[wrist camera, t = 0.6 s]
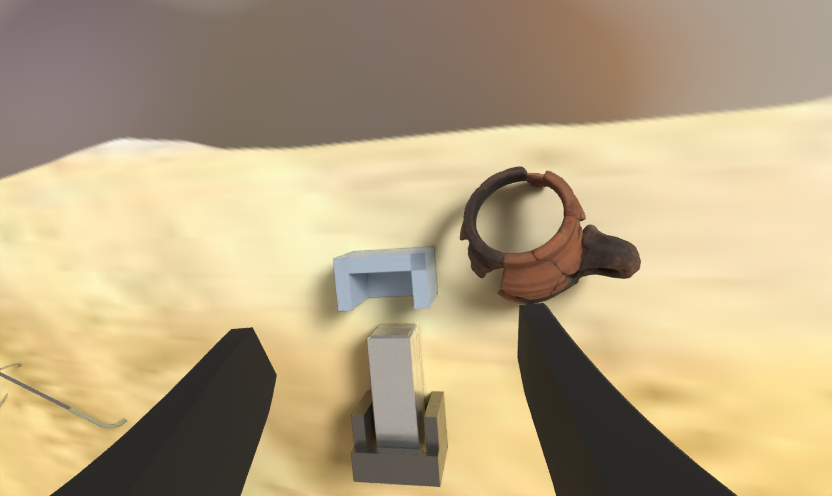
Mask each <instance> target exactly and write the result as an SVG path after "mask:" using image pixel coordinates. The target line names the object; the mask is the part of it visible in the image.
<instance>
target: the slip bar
mask: <svg viewBox="0 0 832 496" xmlns="http://www.w3.org/2000/svg"><path fill="white" fill-rule="evenodd" d="M367 343H368V354H369V365H370V376H371V387H372V397H373V408H374V419H375V430H376V440H377V447H380V448H404V449H426V438H425V426H424V415H425V405H424V393H423V380H422V367H421V355H420V342H419V330H418V325H415V323H404V324H380V325H379V326H378V327H377V329H376V330H375V331H374V332H373V333H372V334H371V335H370V336H369V337H368V338H367ZM382 484H385V483H382ZM399 485H402V484H399ZM415 486H418V485H415Z"/></svg>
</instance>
